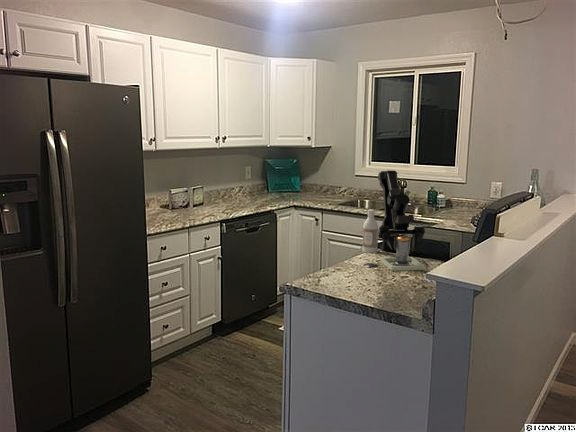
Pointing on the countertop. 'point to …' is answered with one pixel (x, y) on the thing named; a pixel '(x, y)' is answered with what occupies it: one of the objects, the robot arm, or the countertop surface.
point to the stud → (371, 265)
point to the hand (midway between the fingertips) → (403, 249)
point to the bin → (392, 268)
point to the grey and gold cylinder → (402, 251)
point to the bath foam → (370, 234)
